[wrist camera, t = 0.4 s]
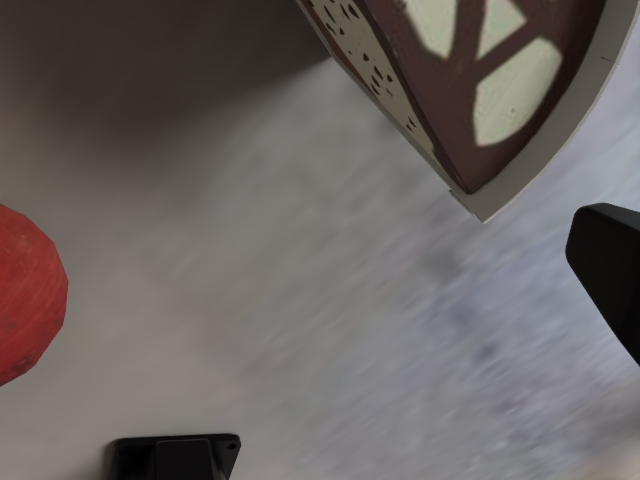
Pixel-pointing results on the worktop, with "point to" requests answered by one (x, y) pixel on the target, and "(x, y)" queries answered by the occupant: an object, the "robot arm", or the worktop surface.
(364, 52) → the food container
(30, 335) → the onion
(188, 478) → the robot arm
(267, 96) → the worktop surface
